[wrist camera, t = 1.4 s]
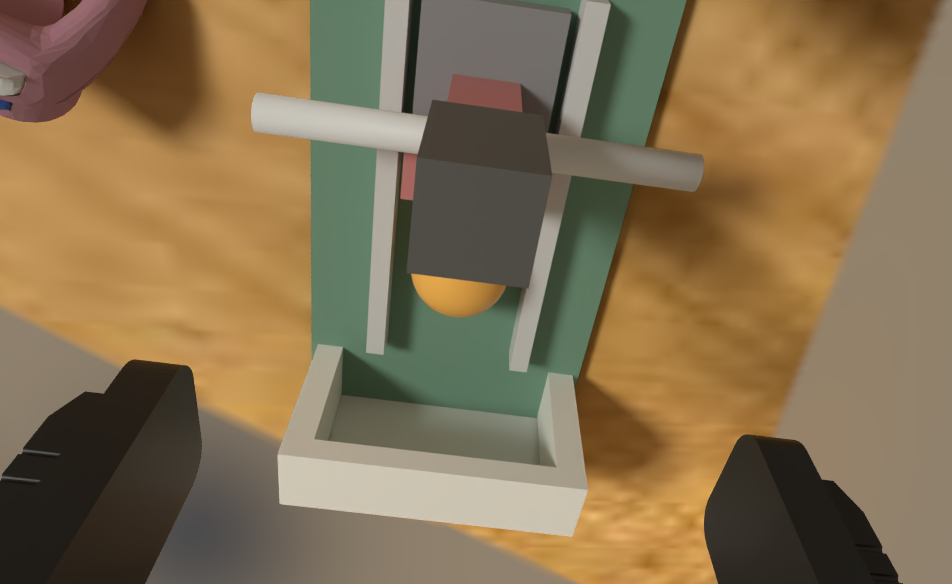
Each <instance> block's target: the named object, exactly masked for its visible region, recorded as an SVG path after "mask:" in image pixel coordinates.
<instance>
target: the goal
mask: <svg viewBox="0 0 952 584" xmlns="http://www.w3.org/2000/svg"><path fill="white" fill-rule="evenodd" d="M342 365H343V347H338V346H330V345H322V344H318V345H317V348H316V351H315V354H314V356H313V359H312V362H311V364H310V367H309V370H308V373H307V375H306V378H305V381H304V384H303V386H302V389H301V392H300V394H299V397H298V400H297V403H296V405H295V408H294V411H293V414H292V416H291V419H290V422H289V424H288V427H287V430H286V433H285V435H284V438H283V441H282V444H281V446H280V449H279V452H278V476H279V498H280V504H285V505H294V506H303V507H312V508H321V509H330V510H339V511H348V512H357V513H366V514H375V515H384V516H393V517H401V518H410V519H419V520H428V521H437V522H446V523H455V524H464V525H473V526H482V527H491V528H500V529H509V530H518V531H527V532H536V533H545V534H554V535H563V536H573V533H574V530H575V527H576V524H577V521H578V518H579V515H580V512H581V509H582V506H583V503H584V500H585V497H586V495H587V492H588V486H587V479H586V471H585V464H584V457H583V449H582V442H581V434H580V427H579V419H578V412H577V404H576V397H575V390H574V382H573V375H565V374H557V373H549V372H548V376H547V380H546V384H545V388H544V392H543V396H542V399H541V403H540V407H539V411H538V415H537V418H531V417H523V416H514V415H506V414H498V413H489V412H481V411H473V410H464V409H456V408H448V407H439V406H431V405H423V404H414V403H406V402H398V401H389V400H381V399H372V398H364V397H356V396H347V395H341V394H342Z"/></svg>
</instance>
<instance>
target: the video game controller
mask: <svg viewBox="0 0 952 584" xmlns="http://www.w3.org/2000/svg"><path fill="white" fill-rule="evenodd" d="M147 1H148V0H82V1H81V3H80V4H79V5H78V6H77V7H76V8H75V9H73V10H72V11H71V12H69V13H68V14H67V15H66V16H64V1H63V0H0V115H1V116H3V117H6V118H10V119H13V120H17V121H22V122H45V121H50V120H53V119H56V118H59V117H61V116H63V115H64V114H66V113H67V112H68V111H70V110H71V109H72V108H73V107H74V106H75V105H76V103H77V101H78V99H79V97H80V95H81V91H82V90H83V89H85V88H86V87H87V86H89V85H90V84H91V83H92V82H93V81H94V79H95V78H96V77H97V76H98V75H99V74H100V73H101V72H102V71H103V70H104V69H105V68H106V67H107V66H108V65H109V63H110V62H111V61H112V59H113V58H114V56H115V55H116V54H117V52H118V51H119V49H120V48H121V47H122V45H123V44H124V42H125V41H126V40H127V38H128V37H129V35H130V34H131V32H132V30H133V29H134V27H135V25H136V24H137V22H138V20H139V19H140V17H141V14H142V12H143V10H144V8H145V5H146V3H147Z"/></svg>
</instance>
